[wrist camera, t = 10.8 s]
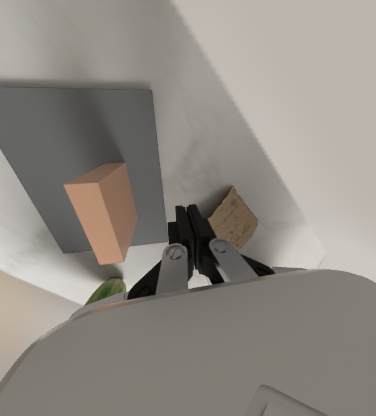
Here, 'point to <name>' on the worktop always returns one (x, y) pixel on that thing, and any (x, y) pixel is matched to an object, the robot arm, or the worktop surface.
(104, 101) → the mat
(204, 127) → the worktop surface
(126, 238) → the block
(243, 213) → the cork arch piece
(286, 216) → the worktop surface
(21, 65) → the worktop surface
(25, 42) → the worktop surface
